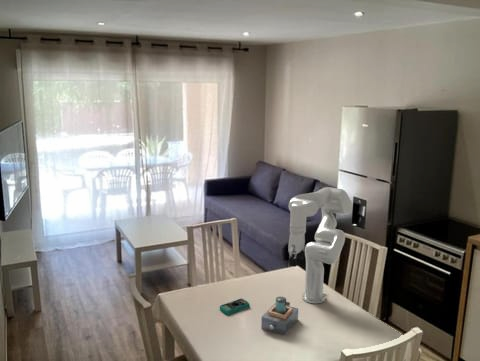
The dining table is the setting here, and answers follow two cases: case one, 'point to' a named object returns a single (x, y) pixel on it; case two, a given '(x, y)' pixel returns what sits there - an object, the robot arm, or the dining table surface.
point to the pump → (281, 305)
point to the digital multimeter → (234, 306)
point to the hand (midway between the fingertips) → (296, 262)
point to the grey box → (279, 320)
